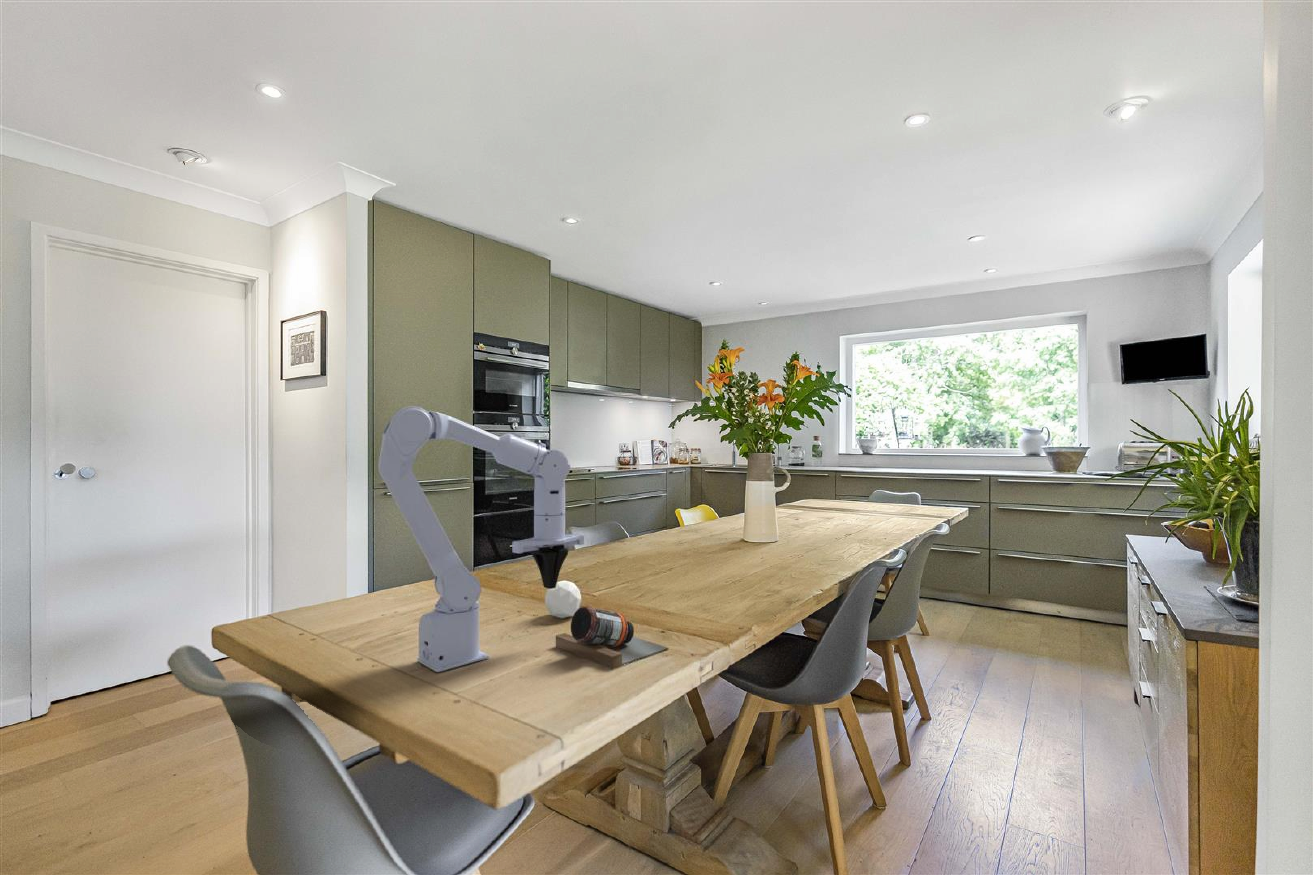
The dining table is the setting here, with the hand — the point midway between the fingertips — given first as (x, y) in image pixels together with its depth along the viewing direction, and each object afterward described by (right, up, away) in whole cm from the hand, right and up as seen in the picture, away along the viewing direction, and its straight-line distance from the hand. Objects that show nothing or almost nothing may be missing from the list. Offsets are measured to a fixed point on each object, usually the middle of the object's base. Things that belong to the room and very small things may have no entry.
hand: (549, 587), depth 111 cm
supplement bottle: (+7, -4, -9) cm, 12 cm away
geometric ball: (0, -11, +17) cm, 21 cm away
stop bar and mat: (+12, -10, -3) cm, 16 cm away
